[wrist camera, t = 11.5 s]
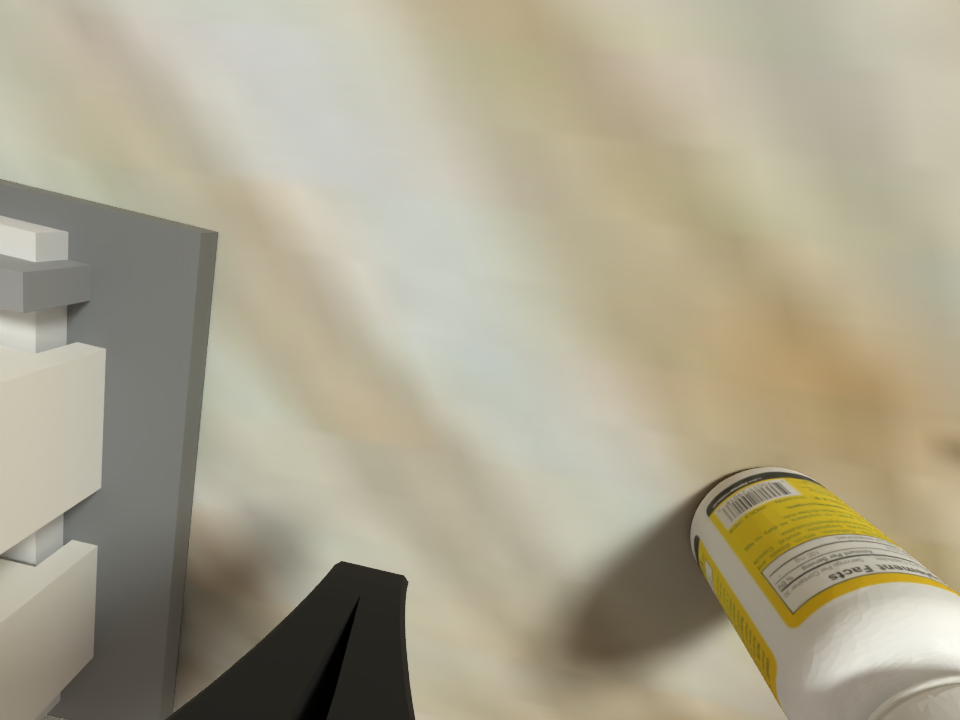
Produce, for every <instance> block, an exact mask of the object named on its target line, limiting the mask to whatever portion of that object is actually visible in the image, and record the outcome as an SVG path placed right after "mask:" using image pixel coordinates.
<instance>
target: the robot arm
mask: <svg viewBox="0 0 960 720" xmlns="http://www.w3.org/2000/svg"><path fill="white" fill-rule="evenodd" d="M407 586H408V581H407V579H406V578H405V576H403V575H399V574H395V573H390V572H386V571H382V570H378V569H373V568H369V567H365V566H360V565H356V564H352V563H347V562H343V561H341V562H339V563H337V564H336V565H334V567H333V568H332V569H331V570H330V572H329V573H328V574H327V575H326V576H325V577H324V579H323V580H322V581H321V582H320V583H319V584H318V585H317V586H316V587H315V589H314V590H313V591H312V592H311V593H310V594H309V595H308V596H307V597H306V598H305V599H304V600H303V601H302V602H301V603H300V604H299V605H298V606H297V607H296V608H295V609H294V610H293V611H292V612H291V613H290V614H289V615H288V616H287V617H286V618H285V619H284V620H283V621H282V622H281V623H280V624H279V625H278V626H276V627H275V628H274V629H273V630H272V631H271V632H270V633H269V634H268V635H267V636H266V637H265V638H264V639H263V640H262V641H261V642H259V643H258V644H257V645H256V646H255V647H254V648H253V649H252V650H250V651H249V652H248V653H247V654H246V655H245V656H243V657H242V658H241V659H240V660H239V661H238V662H236V663H235V664H234V665H233V666H232V667H231V668H229V669H228V670H227V671H226V672H225V673H224V674H222V675H221V676H220V677H219V678H218V679H217V680H215V681H214V682H213V683H212V684H210V685H209V686H208V687H207V688H205V689H204V690H203V691H202V692H200V693H199V694H198V695H197V696H195V697H194V698H193V699H191V700H190V701H189V702H188V703H186V704H185V705H184V706H182V707H181V708H180V709H178V710H177V711H176V712H174V713H173V714H172V715H170V716H169V717H168V718H166V719H165V720H415V716H414V710H413V703H412V697H411V689H410V682H409V672H408V662H407V652H406V638H405V601H406V591H407Z"/></svg>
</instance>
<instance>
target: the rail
mask: <svg viewBox="0 0 960 720" xmlns="http://www.w3.org/2000/svg"><path fill="white" fill-rule="evenodd" d="M217 238H218V232H215V231H211V230H207V229H203V228H199V227H195V226H190V225H186V224H182V223H178V222H174V221H170V220H166V219H162V218H158V217H154V216H149V215H145V214H141V213H137V212H133V211H129V210H125V209H121V208H117V207H113V206H108V205H104V204H100V203H96V202H92V201H88V200H84V199H80V198H76V197H72V196H67V195H63V194H59V193H55V192H51V191H47V190H43V189H39V188H35V187H30V186H26V185H22V184H18V183H14V182H10V181H6V180H2V179H0V345H1V346H5V347H10V348H14V349H18V350H22V351H27V352H31V353H35V354H37V353H40V352H44V351H47V350H51V349H55V348H58V347H62V346H65V345H69V344H72V343H76V342H79V343H83V344H88V345H92V346H96V347H100V348H105V349H106V362H105V391H104V419H103V447H102V476H101V488H100V489H99V490H97V491H96V492H94V493H93V494H91V495H90V496H88V497H87V498H85V499H84V500H82V501H81V502H79V503H78V504H76V505H75V506H73V507H72V508H70V509H69V510H67V511H65V512H64V513H62V514H61V515H59V516H58V517H56V518H55V519H53V520H52V521H50V522H49V523H47V524H46V525H44V526H43V527H41V528H40V529H38V530H37V531H35V532H34V533H32V534H31V535H29V536H28V537H26V538H25V539H23V540H22V541H20V542H19V543H17V544H16V545H14V546H13V547H11V548H10V549H8V550H7V551H5V552H4V553H2V554H0V720H42V719H43V718H44V717H45V716H46V715H50V716H55V717H59V718H64V719H68V720H165V719H166V718H168V717H169V716H170V715H172V713H173V703H174V692H175V681H176V671H177V660H178V650H179V639H180V629H181V618H182V608H183V597H184V587H185V576H186V565H187V555H188V544H189V534H190V523H191V513H192V502H193V492H194V481H195V470H196V460H197V449H198V439H199V428H200V418H201V407H202V397H203V386H204V375H205V365H206V354H207V344H208V333H209V323H210V312H211V302H212V291H213V280H214V270H215V259H216V249H217Z"/></svg>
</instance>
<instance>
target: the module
mask: <svg viewBox="0 0 960 720" xmlns="http://www.w3.org/2000/svg"><path fill="white" fill-rule="evenodd" d="M105 362H106V349H105V348H100V347H96V346H92V345H88V344H83V343H79V342H76V343H72V344H69V345H65V346H62V347H58V348H55V349H51V350H47V351H44V352H40V353H37V354H35V353H31V352H27V351H22V350H18V349H14V348H10V347H5V346H1V345H0V554H2V553H4V552H5V551H7V550H8V549H10V548H11V547H13V546H14V545H16V544H17V543H19V542H20V541H22V540H23V539H25V538H26V537H28V536H29V535H31V534H32V533H34V532H35V531H37V530H38V529H40V528H41V527H43V526H44V525H46V524H47V523H49V522H50V521H52V520H53V519H55V518H56V517H58V516H59V515H61V514H62V513H64V512H65V511H67V510H69V509H70V508H72V507H73V506H75V505H76V504H78V503H79V502H81V501H82V500H84V499H85V498H87V497H88V496H90V495H91V494H93V493H94V492H96V491H97V490H99V489H100V488H101V476H102V447H103V419H104V391H105Z"/></svg>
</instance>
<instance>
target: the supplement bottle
mask: <svg viewBox="0 0 960 720" xmlns="http://www.w3.org/2000/svg"><path fill="white" fill-rule="evenodd" d="M690 539H691V547H692V551H693V555H694V557H695V560H696V562H697V564H698V566H699V568H700V570H701V572H702V573H703V575H704V577H705V578H706V580H707V582H708V584H709V585H710V587H711V589H712V590H713V592H714V594H715V595H716V597H717V599H718V601H719V602H720V604H721V606H722V607H723V609H724V611H725V613H726V614H727V616H728V618H729V620H730V621H731V623H732V625H733V626H734V628H735V630H736V631H737V633H738V635H739V637H740V638H741V640H742V642H743V644H744V645H745V647H746V649H747V651H748V652H749V654H750V656H751V657H752V659H753V661H754V662H755V664H756V666H757V667H758V669H759V671H760V672H761V674H762V676H763V678H764V679H765V681H766V683H767V685H768V686H769V688H770V689H771V691H772V693H773V695H774V697H775V698H776V700H777V702H778V704H779V705H780V707H781V708H782V710H783V712H784V713H785V715H786V716H787V718H788V719H789V720H960V595H959V594H958V593H956V592H955V591H954V590H953V589H951V588H950V587H949V586H948V585H946V584H945V583H944V582H943V581H941V580H940V579H939V578H938V577H936V576H935V575H934V574H932V573H931V572H930V571H929V570H928V569H926V568H925V567H924V566H923V565H921V564H920V563H919V562H918V561H917V560H915V559H914V558H913V557H911V556H910V555H909V554H908V553H907V552H905V551H904V550H903V549H901V548H900V547H899V546H898V545H897V544H895V543H894V542H893V541H892V540H890V539H889V538H888V537H887V536H886V535H884V534H883V533H882V532H880V531H879V530H878V529H877V528H875V527H874V526H873V525H872V524H870V523H869V522H868V521H867V520H865V519H864V518H863V517H862V516H861V515H859V514H858V513H857V512H855V511H854V510H853V509H852V508H850V507H849V506H848V505H847V504H846V503H844V502H843V501H842V500H841V499H839V498H838V497H837V496H835V495H834V494H833V493H831V492H830V491H829V490H827V489H826V488H825V487H824V486H822V485H821V484H820V483H818V482H817V481H815V480H814V479H812V478H810V477H809V476H807V475H804V474H802V473H800V472H797V471H794V470H790V469H785V468H779V467H760V468H754V469H750V470H746V471H742V472H740V473H737V474H735V475H733V476H731V477H729V478H727V479H725V480H724V481H722V482H720V483H719V484H718V485H717V486H715V487H714V488H713V489H712V490H711V491H710V492H709V493H708V494H707V495H706V496H705V498H704V499H703V500H702V502H701V503H700V505H699V507H698V508H697V510H696V512H695V515H694V518H693V521H692V525H691V532H690Z"/></svg>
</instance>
